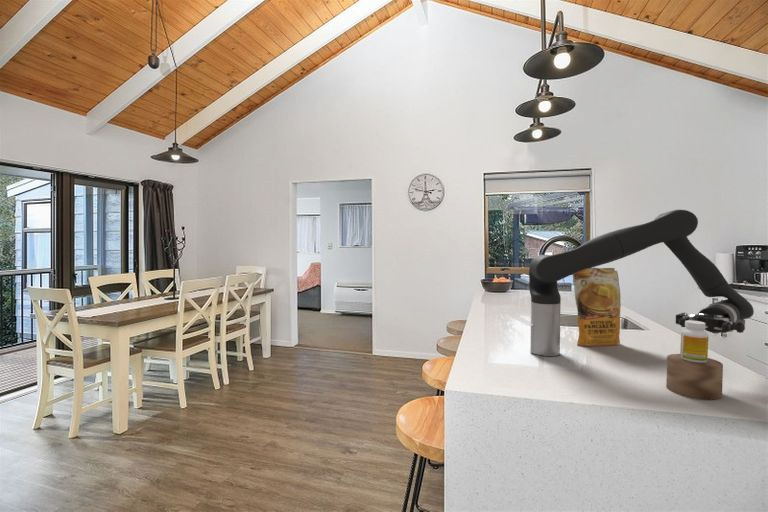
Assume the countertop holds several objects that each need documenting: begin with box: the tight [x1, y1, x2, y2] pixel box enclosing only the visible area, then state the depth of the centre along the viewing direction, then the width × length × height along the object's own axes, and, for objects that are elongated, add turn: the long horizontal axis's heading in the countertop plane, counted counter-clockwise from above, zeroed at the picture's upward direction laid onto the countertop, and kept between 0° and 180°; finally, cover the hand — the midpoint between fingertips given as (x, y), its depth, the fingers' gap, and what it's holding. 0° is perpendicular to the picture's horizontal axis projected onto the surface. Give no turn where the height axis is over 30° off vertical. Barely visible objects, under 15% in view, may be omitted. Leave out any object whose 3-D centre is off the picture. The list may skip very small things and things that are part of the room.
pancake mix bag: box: [572, 267, 622, 347], centre depth 141 cm, size 7×19×28 cm, turn 94°
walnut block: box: [665, 353, 724, 401], centre depth 98 cm, size 11×11×8 cm
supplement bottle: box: [679, 320, 710, 363], centre depth 97 cm, size 5×5×10 cm
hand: (702, 326), depth 102 cm, fingers open, 8 cm apart
